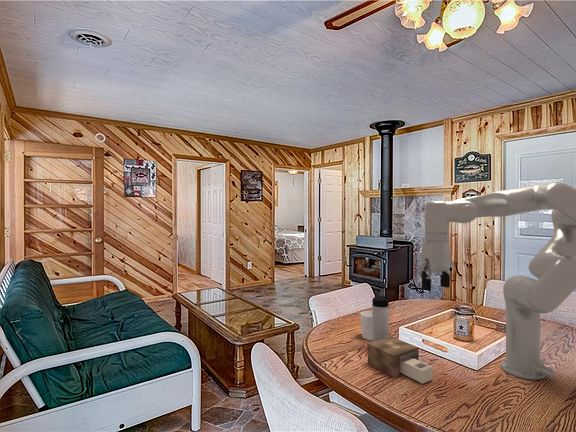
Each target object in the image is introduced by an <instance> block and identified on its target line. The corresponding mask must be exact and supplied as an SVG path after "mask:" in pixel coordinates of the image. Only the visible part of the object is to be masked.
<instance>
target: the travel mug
mask: <svg viewBox="0 0 576 432" xmlns="http://www.w3.org/2000/svg"><path fill="white" fill-rule="evenodd" d="M390 298H391V297H390V296H385V295H381V296H379V295H378V296H374V297H373V298H372V301H371V302H372V305H371V306H372V307H371V309H372V310H371V311H372V340H371V342H374V341H378V340H381V339H384V338H388V337H390V304H389V302H390V301H389V300H390Z"/></svg>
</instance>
